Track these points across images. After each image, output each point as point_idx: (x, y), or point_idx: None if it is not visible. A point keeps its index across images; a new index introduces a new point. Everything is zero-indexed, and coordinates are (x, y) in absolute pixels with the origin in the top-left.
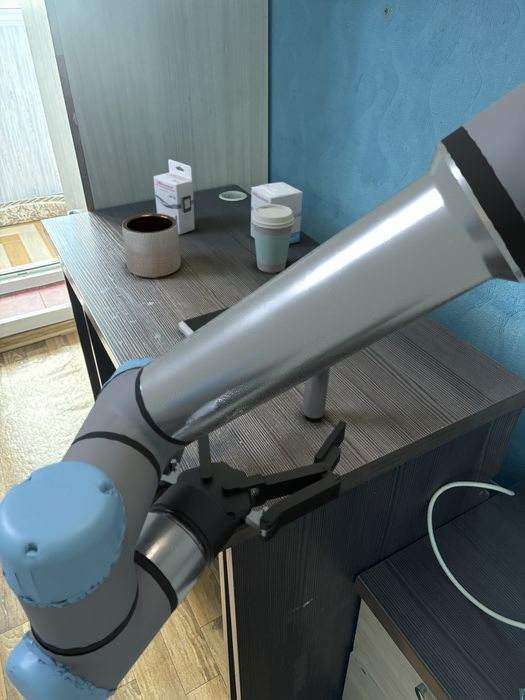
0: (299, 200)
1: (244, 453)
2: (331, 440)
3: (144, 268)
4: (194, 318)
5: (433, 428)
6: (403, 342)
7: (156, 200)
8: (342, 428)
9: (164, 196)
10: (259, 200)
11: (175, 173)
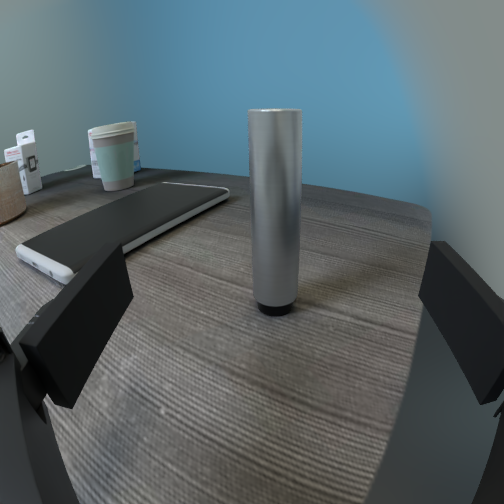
0: (134, 129)
1: (186, 436)
2: (481, 284)
3: None
4: (34, 237)
5: (425, 259)
6: (303, 200)
7: None
8: (456, 253)
9: None
10: None
11: (22, 143)
